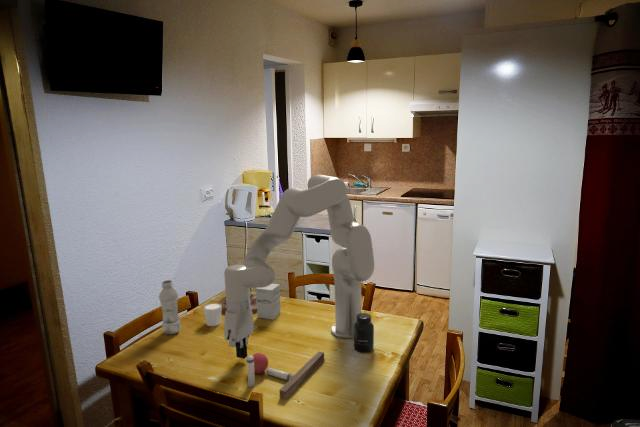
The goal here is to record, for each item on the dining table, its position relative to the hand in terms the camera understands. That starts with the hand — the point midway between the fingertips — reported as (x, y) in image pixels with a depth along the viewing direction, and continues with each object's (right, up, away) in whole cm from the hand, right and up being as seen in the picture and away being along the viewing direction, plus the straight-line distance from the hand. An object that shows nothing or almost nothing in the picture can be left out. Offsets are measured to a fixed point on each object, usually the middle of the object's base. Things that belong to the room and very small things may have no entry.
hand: (241, 356), depth 145 cm
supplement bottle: (+40, +1, +6) cm, 41 cm away
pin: (+9, -2, -8) cm, 12 cm away
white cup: (-16, +4, +30) cm, 34 cm away
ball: (+6, 0, -7) cm, 9 cm away
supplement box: (+5, +5, +35) cm, 36 cm away
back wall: (+21, -3, -10) cm, 23 cm away
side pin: (+5, -4, -13) cm, 15 cm away
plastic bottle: (-30, +2, +22) cm, 38 cm away
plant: (-9, +6, +46) cm, 48 cm away
